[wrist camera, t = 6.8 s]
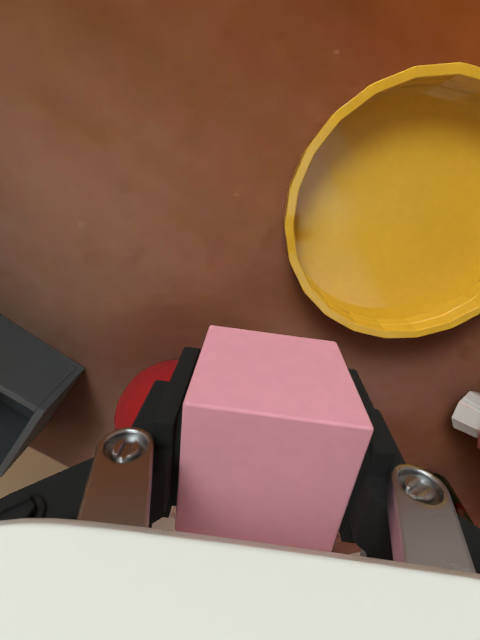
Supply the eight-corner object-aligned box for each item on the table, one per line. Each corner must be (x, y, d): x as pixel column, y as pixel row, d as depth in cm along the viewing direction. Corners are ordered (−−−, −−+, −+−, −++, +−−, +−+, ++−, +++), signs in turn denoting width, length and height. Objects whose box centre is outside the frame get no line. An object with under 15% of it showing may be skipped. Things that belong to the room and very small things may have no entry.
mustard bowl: (237, 236, 27) (234, 243, 24) (411, 7, 21) (434, -18, 18) (392, 359, 30) (405, 378, 27) (581, 193, 24) (622, 195, 21)
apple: (223, 432, 34) (208, 526, 25) (134, 416, 34) (86, 504, 25) (238, 353, 31) (228, 429, 22) (139, 334, 31) (86, 403, 21)
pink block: (200, 424, 14) (174, 532, 10) (209, 324, 12) (182, 403, 8) (311, 439, 14) (331, 553, 9) (336, 341, 12) (375, 428, 8)
